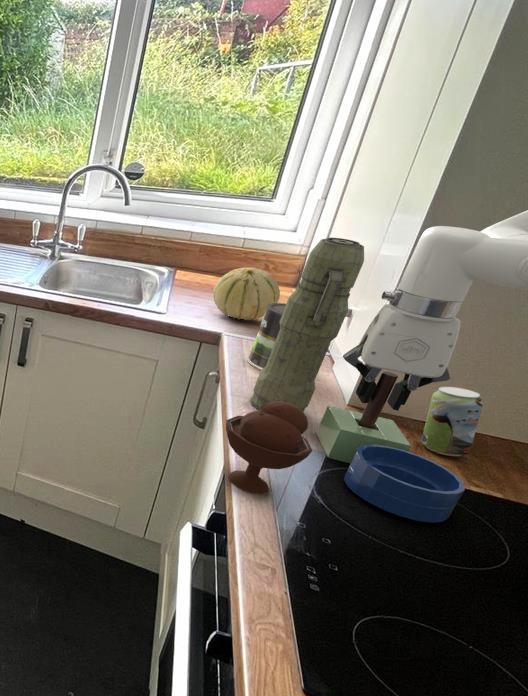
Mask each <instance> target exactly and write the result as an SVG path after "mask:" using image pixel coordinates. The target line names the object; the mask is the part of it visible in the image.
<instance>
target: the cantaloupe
mask: <svg viewBox="0 0 528 696" xmlns="http://www.w3.org/2000/svg"><path fill="white" fill-rule="evenodd" d="M212 293H213V301H214V304H215V305H216V307H217V310H219V311H220V312H221V313H222V314H223V315H225V314H226V315H225V316H227V315H229V316H231V317H234V318H233V319H235V318H239V319H238V320H240V319H244V320H243V321H253V320H258V319H260V318H264V315H265V312H266V307H267V305H268V304H272V303H279V300H280V296H281V291H280V287H279V284H278V282H277V280H276V279H275V277H274V276H273V275H272V274H270V273H269V272H268V271H265V270H263V269H259V268H256V267H240V268H235V269H233V270H230V271H228V272H227V273H226V274H224V275H222V276H221V277H220V278H219V279H218V280H217V282H216V283H215V285H214V288H213V291H212ZM229 316H228V317H229ZM231 317H230V318H231ZM252 319H253V320H252Z"/></svg>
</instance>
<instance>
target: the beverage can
mask: <svg viewBox="0 0 528 696" xmlns="http://www.w3.org/2000/svg"><path fill="white" fill-rule="evenodd" d="M483 406H484V402H483V400H482V399H481V394H480V393H479V392H477V391H474V390H471V389H467V388H463V387H456V386H440V387H439V388H438V390H436V391H435V392H433V394H432V396H431V399H430V404H429V407H428V412H427V416H426V420H425V423H424V427H423V432H422V436H421V439H420V443H421V444H422V445H423V446H425V447H426V448H427V450H429V451H431V452H434V453H436V454H440V455H443V456H448V457H449V456H450V457H462V456H466V455H468V454H470V453H471V451H472V446H473V442H474V439H475V436H476V431H477V428H478V424H479V421H480V417H481V412H482V411H483V410H482V409H483Z"/></svg>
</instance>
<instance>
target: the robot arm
mask: <svg viewBox="0 0 528 696" xmlns="http://www.w3.org/2000/svg"><path fill="white" fill-rule="evenodd" d="M413 250H414V251H413V253H412V255H411V257H410V259H409V261H408V264H407V266H406V267H405V270H404V272H403V274H402V277H401V279H400V282H399V284H398V286H397V287H395V289H394V290H393V291H391V290H390V291H383V292H382V294H381V300H385V301H388V302H389V304H388V303H385V304H384V305H383V306H382V307H381V309H380V310H379V311H378V312H377V313H376V315H375V316H374V318H372V321H371V322H370V323H369V325H368V327H367V328H366V331H365V332H364V334H363V336H362V337H361V339H360V341H359V343H358V344H357V345H356V346H354V347H353V348H351V349H350V350H348V351H346V353H344V354H343V355H342V359H344V361H345V362H347V363H348V365H351V366H352V367H353V368H355V369H356V370H357V371H358V373H359V374H360V375H361V378H360V381H359V383H358V385H357V387H356V390H355V395H356V396H357V398H358V399H359V401H360V402H361V404H366V405H367V403H368V402H369V400H370V398H371V396H372V394H373V392H374V390H375V387H376V384H377V382H375V381H376V379H377V377H378V376H379V374H381V372H382V370H386V371H390V372H395V373H401V374H403V375H402V378H401V380H400V381H396V382H395V384H394V386H393V388H392V390H391V392H390V394H389V396H388V399H387V401H386V402H387V404H388V405H389V407H390V408H391V409H392V411H393V410H394V411H399V410H400V408H401V406H405V405H406V403H407V401H408V399H409V397H410V395H411V393H412V392H415V391H417V390H418V389H419V388H421V387H424V386H427V385H430V384H432V383H440V382H441V383H442V382H447V381H449V380H451V375H450V372H449V369H448V366H449V364H450V361H451V358H452V356H453V353H454V350H455V347H456V345H457V341H458V337H459V334H460V331H461V330H460V329H461V324H462V320H460V319H459V318H458V317H456V316H457V314H458V313H459V310H460V309H461V306H462V304H463V302H464V300H465V298H466V297H467V295H468V293H469V291H470V288H471V286H472V284H473V283H474V282H475V281H479V282H483V283H488V284H493V285H496V286H500V287H505V288H508V289H513V290H521V291H528V210H524V211H523V212H519V213H518V214H515V215H513V216H511V217H508V218H505V219H503V220H501V221H499V222H496V223H494V224H492V225H490V226H487V227H485V228H484V229H481V230H480V231H479V230H475V229H470V228H465V227H458V226H448V225H447V226H446V225H437V226H435V225H434V226H431V227H429V228H426V229H425V230H424V231H423V232H422V234H421V236H420V237H419V239H418V242H417V244H416V246H415V248H414V249H413ZM359 358H361V360H360V359H359Z"/></svg>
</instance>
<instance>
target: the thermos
mask: <svg viewBox="0 0 528 696" xmlns="http://www.w3.org/2000/svg"><path fill="white" fill-rule="evenodd" d="M364 263H365V246H364V244H361V243H360V242H359V241H356V240H352V239H347V238H340V237H326V238H322V239H320V240H319V241H318V243H316V245H315V246H314V247H313V248H312V250H311V251H310V252H309V254H308V257H307V260H306V263H305V264H304V267H303V271H302V273H301V275H300V278H301V279H300V282H298V283H297V286H296V289H295V290H294V291H293V292H292V293H291V294H290V296H289V297H288V299H287V301H286V303H285V304H286V306H285V309H284V311H283V314H282V317H281V319H280V322H279V323H280V330H279V333H278V336H277V338H276V341H275V344H274V346H273V349H272V351H271V354H270V357H269V359H268V362H267V364H266V366H265V367H264V368H263V369H262V370H260V371H259V374H258V376H257V379H256V382H255V384H254V387H253V389H252V390H253V394H252V396H251V397H250V400H249V402H250V404H251V406H253V407H254V408H255V409H256V410H257V411H258V410H259V408H260V406H262V405H264V404H266V403H268V402H273V401H282V402H287V403H290V404H292V405H294V406H296V407H298V408H299V409H300V410H302V411H303V413H304V412H305V410H306V408H308V407H309V405H310V402H311V400H312V398H313V395H314V392H315V390H316V386H315V383H316V382H315V381H316V378H317V376H318V374H319V372H320V370H321V367H322V364H323V362H324V360H325V357H326V356H327V353H328V350H329V348H330V345H331V343H332V341H334V339H336V338H337V337H338V336H339V333H340V330H341V328H342V326H343V323H344V321H345V318H346V316H347V314H348V312H349V298H350V295H351V293H350V292H351V289H353V288H354V286H355V284H356V282H357V279H358V277H359V275H360V272H361V270H362V267H363V264H364ZM304 414H305V413H304Z"/></svg>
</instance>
